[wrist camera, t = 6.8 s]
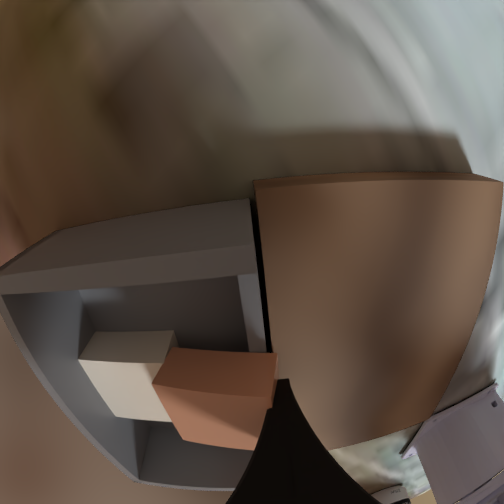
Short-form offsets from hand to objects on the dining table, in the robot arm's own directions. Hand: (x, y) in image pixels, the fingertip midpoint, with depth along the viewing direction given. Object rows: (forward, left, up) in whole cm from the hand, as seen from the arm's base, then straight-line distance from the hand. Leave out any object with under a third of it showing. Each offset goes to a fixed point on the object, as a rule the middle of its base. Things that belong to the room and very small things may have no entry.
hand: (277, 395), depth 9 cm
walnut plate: (-5, 0, -3) cm, 6 cm away
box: (+4, 0, -3) cm, 5 cm away
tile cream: (+6, 0, -2) cm, 6 cm away
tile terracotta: (+2, 0, -1) cm, 2 cm away
